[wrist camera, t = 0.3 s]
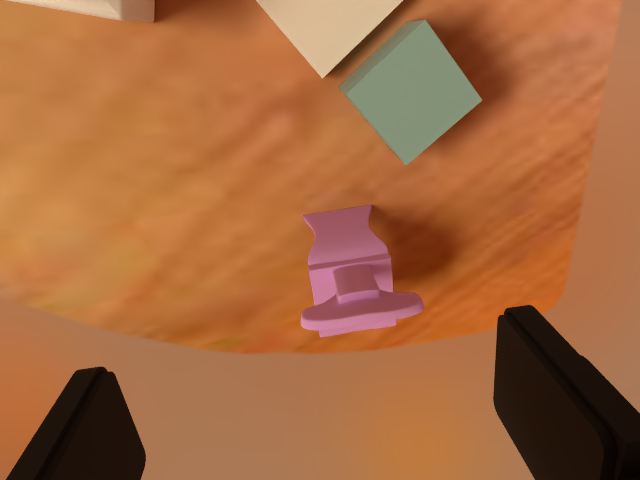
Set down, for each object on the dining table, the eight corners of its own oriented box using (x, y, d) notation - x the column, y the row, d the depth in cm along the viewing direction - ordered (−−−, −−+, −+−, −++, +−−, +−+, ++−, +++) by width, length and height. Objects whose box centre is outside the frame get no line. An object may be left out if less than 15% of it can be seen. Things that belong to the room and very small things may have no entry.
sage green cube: (406, 21, 34) (425, 19, 29) (457, 92, 36) (482, 100, 32) (338, 87, 36) (345, 94, 31) (391, 150, 38) (406, 165, 34)
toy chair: (305, 298, 44) (315, 417, 30) (291, 216, 40) (295, 310, 26) (389, 286, 44) (436, 398, 30) (382, 203, 40) (433, 288, 26)
